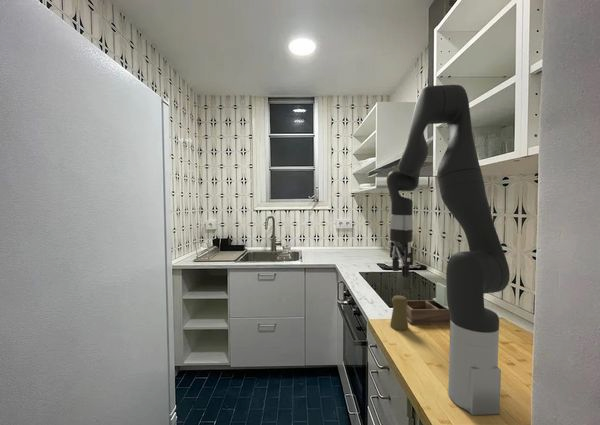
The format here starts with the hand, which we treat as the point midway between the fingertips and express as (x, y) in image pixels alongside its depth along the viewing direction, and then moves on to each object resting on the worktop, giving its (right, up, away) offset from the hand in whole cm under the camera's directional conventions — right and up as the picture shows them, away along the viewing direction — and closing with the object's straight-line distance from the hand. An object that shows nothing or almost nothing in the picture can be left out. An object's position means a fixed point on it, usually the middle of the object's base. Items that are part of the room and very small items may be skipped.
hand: (400, 273), depth 101 cm
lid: (+23, -14, +10) cm, 29 cm away
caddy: (+17, -19, +9) cm, 27 cm away
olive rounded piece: (0, -19, +1) cm, 19 cm away
